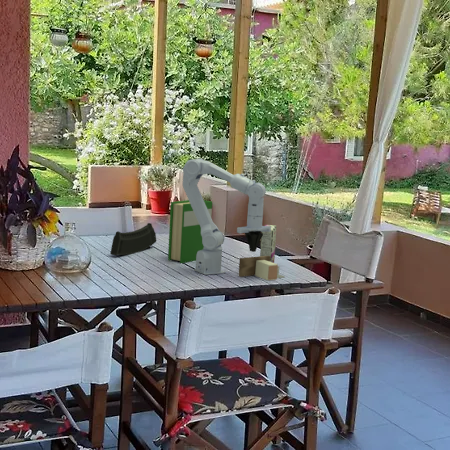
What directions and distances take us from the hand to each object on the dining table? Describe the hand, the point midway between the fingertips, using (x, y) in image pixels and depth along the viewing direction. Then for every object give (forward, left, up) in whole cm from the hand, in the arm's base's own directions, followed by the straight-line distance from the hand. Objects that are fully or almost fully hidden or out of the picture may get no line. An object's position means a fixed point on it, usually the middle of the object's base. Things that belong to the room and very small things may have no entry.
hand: (252, 251), depth 258 cm
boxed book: (+5, -3, -10) cm, 11 cm away
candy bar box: (+17, +12, -10) cm, 23 cm away
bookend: (+10, -2, -10) cm, 14 cm away
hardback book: (-6, +35, -10) cm, 37 cm away
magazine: (-21, +55, -10) cm, 60 cm away
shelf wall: (+3, +2, -10) cm, 11 cm away
